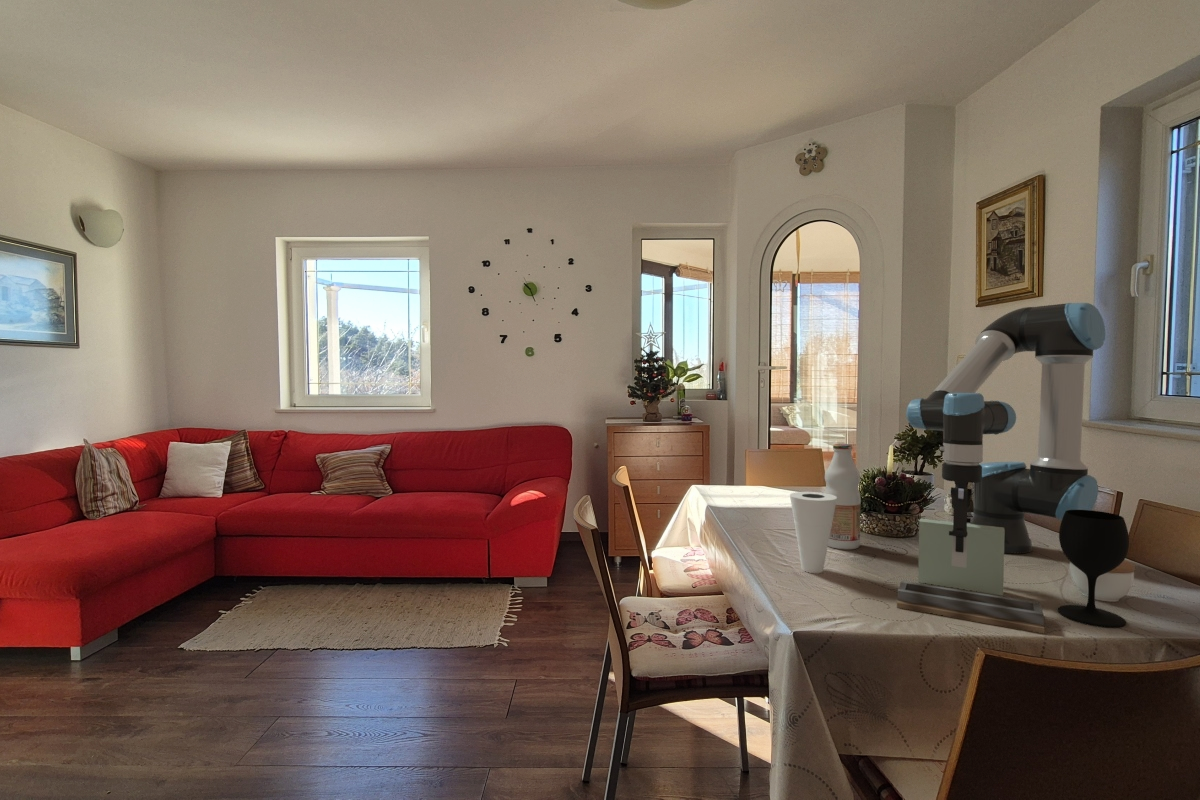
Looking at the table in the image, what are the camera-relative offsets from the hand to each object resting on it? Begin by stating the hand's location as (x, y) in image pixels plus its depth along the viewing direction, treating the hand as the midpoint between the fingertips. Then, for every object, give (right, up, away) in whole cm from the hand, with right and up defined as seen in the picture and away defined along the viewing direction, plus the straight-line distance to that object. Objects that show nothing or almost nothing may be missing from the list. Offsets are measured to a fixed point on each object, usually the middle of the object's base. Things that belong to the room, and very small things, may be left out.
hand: (959, 558), depth 133 cm
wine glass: (+16, -7, -17) cm, 24 cm away
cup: (-28, -6, +12) cm, 31 cm away
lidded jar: (+26, -7, -6) cm, 28 cm away
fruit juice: (-13, -5, +33) cm, 36 cm away
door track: (-7, -7, -14) cm, 17 cm away
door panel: (0, -6, 0) cm, 6 cm away
